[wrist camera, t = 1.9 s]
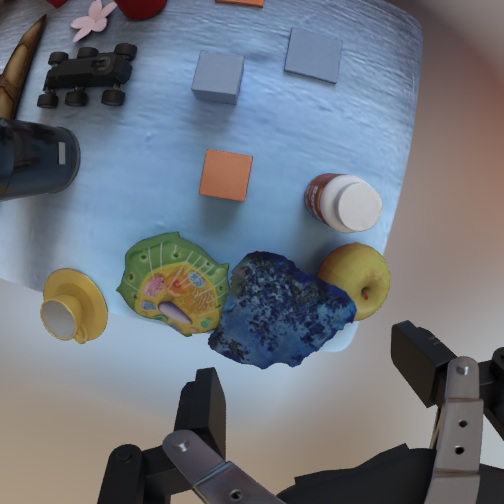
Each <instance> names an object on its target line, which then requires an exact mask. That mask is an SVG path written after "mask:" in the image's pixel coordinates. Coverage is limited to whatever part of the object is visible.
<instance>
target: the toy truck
mask: <svg viewBox="0 0 504 504" xmlns="http://www.w3.org/2000/svg"><path fill="white" fill-rule="evenodd" d="M46 1H48V2H49V3H50V4H52V5H53V6H54V7H56V8H59V7H60V6H61V5H62V4H63V3H65V2H66V1H67V0H46Z"/></svg>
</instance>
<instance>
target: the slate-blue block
mask: <svg viewBox="0 0 504 504" xmlns="http://www.w3.org/2000/svg"><path fill="white" fill-rule="evenodd" d="M244 59H245V56H240V55H233V54H226V53H218V52H209V51H201V52H200V56H199V60H198V63H197V67H196V71H195V75H194V80H193V84H192V88H191V89H192V91H193V93H194V95H195V97H196V99H197V100H204V101H212V102H219V103H226V104H233V105H236V104H237V99H238V94H239V89H240V84H241V80H242V75H243V71H244Z"/></svg>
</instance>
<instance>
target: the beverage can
mask: <svg viewBox="0 0 504 504" xmlns="http://www.w3.org/2000/svg"><path fill="white" fill-rule="evenodd" d="M114 2H115V3H116V4H117V6H118V7H119V8H120V10H121V11H122V12H123V13H124V15H125V16H126V17H128V18H130V19H134V20H141V19H145V18H149V17H151V16H153V15H155V14H156V13H158V12H159V11H160V10H161V9H162V8H163V7H164V6H165V4H166V2H167V0H114Z"/></svg>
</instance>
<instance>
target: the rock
mask: <svg viewBox="0 0 504 504" xmlns="http://www.w3.org/2000/svg"><path fill="white" fill-rule="evenodd" d="M232 275H233V276H232V277H231V280H232V282H231V284H230V285H231V287H230V289H229V292H230V293H229V294H228V296H229V297H228V299H227V300H226V304H225V305H224V308H225V309H224V310H223V312H222V313H223V314H222V316H221V317H220V318H221V322H220V323H221V324H220V326H219V327H218V328H216V330H215V331H214V332H213V333H212V334H211V335H210V337H209V339H208V340H209V341H208V345H210V348H211V349H212V350H215V351H216V352H218V353H220V354H222V355H224V356H225V357H227V358H229V359H232V360H234V361H236V362H238V363H241V364H250V365H255V366H257V367H259V368H261V369H266V368H268V367H269V366H271V365H272V364H274V363H286V364H288V365H289V366H290V367H295V366H297V365H300V364H301V362H302V360H303V359H304V358H305V357H307V356H309V355H310V353H312V352H314V351H318V350H319V349H320V347H322V346H323V344H324V343H325V342H326V341H328V340H330V339H331V338H333V337H334V335H335V334H336V332H337V331H338V330H343V328H344V326H345V324H346V323H349V322H350V323H353V321H354V318H355V315H356V312H357V309H356V305H355V303H354V301H353V300H352V299H351V298H350V297H349V295H348V294H347V292H346V291H344V290H342V289H340V288H338V287H337V286H336V285H330V283H327V282H325V281H324V280H322V279H321V278H319V277H316V276H312V275H309V274H306V273H305V272H303V271H301V270H300V269H298V268H296V266H295V264H294V262H293V261H290V260H288V259H287V258H286V257H284V256H282V255H278V254H275V253H270V252H264V251H263V252H259V251H255V252H253V253H249V254H247V255H246V256H245V257H244V258H243V259H242V261H241V262H240V263H239V264H238V265H237V266H236V267H235V268H234V269H233V271H232Z"/></svg>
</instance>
